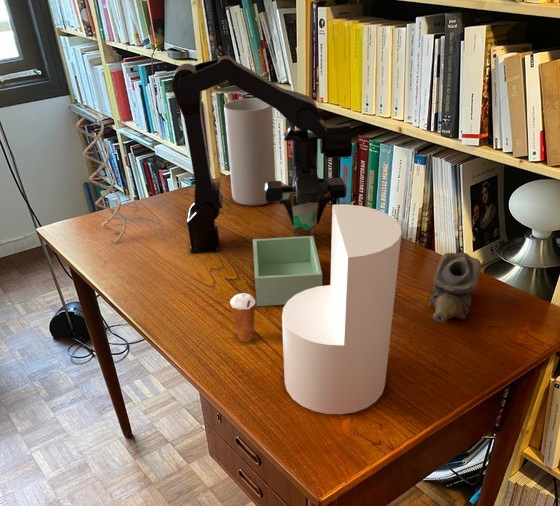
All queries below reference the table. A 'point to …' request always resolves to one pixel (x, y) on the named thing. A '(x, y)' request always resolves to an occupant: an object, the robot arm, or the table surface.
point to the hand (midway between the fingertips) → (305, 224)
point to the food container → (304, 218)
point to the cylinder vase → (250, 149)
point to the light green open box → (285, 268)
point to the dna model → (97, 138)
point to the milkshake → (244, 316)
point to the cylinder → (345, 317)
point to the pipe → (454, 286)
